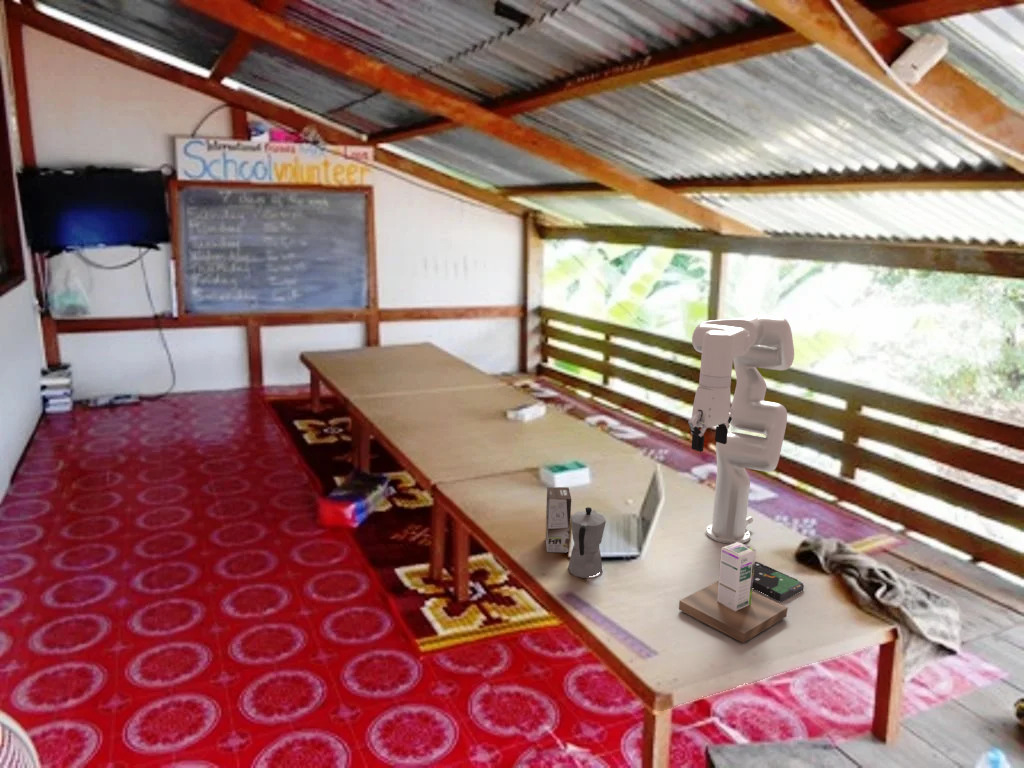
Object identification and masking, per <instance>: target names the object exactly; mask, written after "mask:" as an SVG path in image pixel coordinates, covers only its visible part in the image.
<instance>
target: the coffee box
mask: <svg viewBox="0 0 1024 768" xmlns="http://www.w3.org/2000/svg"><path fill="white" fill-rule="evenodd" d="M572 500H573V499H572V496H571V492H570V488H569V487H567V486H565V487H561V486H560V487H558V486H556V487H547V488H546V507H545V508H546V510H545V512H546V513H545V515H546V516H545V546H546V553H564V554H568V553H569V552H570V551H569V550H570V549H569V548H570V529H571V517H570V516H571V515H572V514H571V513H572V512H571V511H572V510H571V509H572ZM568 551H569V552H568ZM567 552H568V553H567Z"/></svg>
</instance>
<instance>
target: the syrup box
mask: <svg viewBox="0 0 1024 768" xmlns="http://www.w3.org/2000/svg"><path fill="white" fill-rule="evenodd" d="M720 550H721V551H720V561H719V562H720V563H719V571H718V572H719V574H718V581H719V585H718V597H717V601H718V602H719V603H721V604H723V605H724V606H726V607H728V608H730V609H732V610H734V611H737V610H739V609H742V608H744V607H746V606H749V605H751V598H752V591H753V589H752V587H753V576H754V565H755V561H756V551H757V550H756V549H754V548H752V547H750V546H749V545H747V544H744V543H739V542H736V543H734V544H728V545H725V546H723V547H721V549H720Z"/></svg>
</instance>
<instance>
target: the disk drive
mask: <svg viewBox="0 0 1024 768" xmlns="http://www.w3.org/2000/svg"><path fill="white" fill-rule="evenodd" d="M752 588H754V589H756V590H755V591H757V590H758V591H760V592H759V593H761V592H762V593H761V594H763V593H764V594H763V595H765V594H766V595H765V596H767V595H768V596H767V597H768V598H771V599H772V600H775V601H776V602H779V601H780V603H782V602H784V601H786V600H788V599H790V598H792V597H794V596H796V595H798V594H800V593H801V591H802V592H804V588H805V585H804V583H803V582H802V581H800V580H798V579H797V578H795V577H792V576H790V575H788V574H785V573H783V572H780V571H778V570H776V569H774V568H773V567H770V566H767V565H765V564H764V563H762V562H759V561H756V560H755V565H754V576H753V587H752ZM754 589H753V590H754ZM758 591H757V592H758ZM799 592H800V593H799ZM797 593H798V594H797ZM795 594H796V595H795ZM793 595H794V596H793ZM791 596H792V597H791Z"/></svg>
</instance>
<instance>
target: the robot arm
mask: <svg viewBox="0 0 1024 768" xmlns="http://www.w3.org/2000/svg"><path fill="white" fill-rule="evenodd" d="M691 344H692V346H693V348H694V350H695V351H696V352H697V353H701V359H700V370H699V371H700V372H699V380H698V381H699V383H698V386H697V388H696V392H695V395H694V400H693V405H692V413H691V417H690V418H689V420H688V422H687V423H688V425H689V431H690V433H691V435H692V437H691V449H692V450H694V451H696V452H700V453H702V452H704V448H705V447H704V446H705V436H704V434H705V433H706V431H707V429H709V428H710V429H711V428H712V427H715V437H714V441H715V453H716V479H715V489H714V490H715V492H714V499H713V500H714V501H713V512H712V523H711V524H709V525H707V526H706V529H705V533H706V535H707V537H709V538H710V539H712V540H714V541H716V542H719V543H722V544H728V545H731V544H734V543H736V542H739V543H742V544H744V543H747V542H749V541H750V540H751V533H750V531H749V530H748V529H747V526H748V525H750V524H752V523H753V522H754V519H753V518H752V516H748V517H747V515H748V507H749V498H750V488H751V480H750V476H749V473H748V472H747V470H746V469H750V470H755V471H759V472H765V473H766V472H767V473H771V472H773V471H775V470H776V468H777V467H778V464H779V461H780V456H781V452H782V447H783V442H784V438H785V433H786V429H787V423H788V413H787V412H788V411H787V409H786V407H785V406H784V405H783V404H781V403H778V402H773V401H768V400H765V398H766V397H765V396H766V392H767V384H766V380H765V379H764V377H763V375H762V374H761V372H759V370H758V368H760V369H765V370H766V369H767V370H775V371H786V370H788V369H790V368H791V366H792V364H793V363H794V358H795V347H794V340H793V332H792V328H791V326H790V323H789V322H788V320H787V319H785V318H784V317H782V316H774V315H773V316H772V315H762V314H746V315H744V316H742V317H738V318H730V319H729V318H728V319H715V320H712V319H711V320H706V321H705V320H704V321H703V322H700V323H699V324H697V326H696V327H695V329H694V331H693V333H692V337H691ZM733 367H734V372H735V376H736V386H735V389H734V395H733V399H732V398H731V397H732V396H731V385H732V384H731V383H732V374H733V373H732V372H733ZM731 399H732V401H731ZM730 426H731V427H732V428H733V429H737V430H739V431H743V432H749V433H756V434H760V435H765V437H763V436H758V435H752V434H748V433H742V432H734V431H729V428H730ZM699 428H700V429H699Z"/></svg>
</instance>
